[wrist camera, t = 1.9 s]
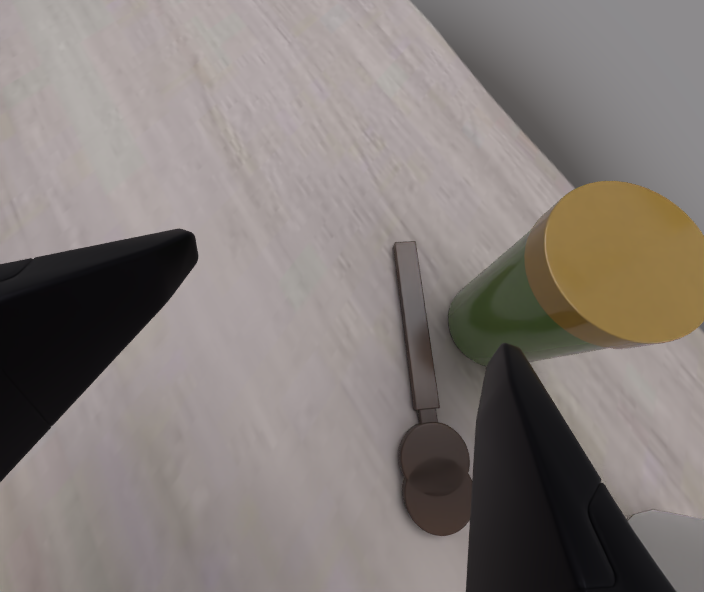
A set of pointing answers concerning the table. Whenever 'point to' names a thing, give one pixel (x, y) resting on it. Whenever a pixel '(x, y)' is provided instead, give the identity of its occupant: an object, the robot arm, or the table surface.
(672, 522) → the foam cup
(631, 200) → the pickle jar
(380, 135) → the table surface
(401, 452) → the spoon
